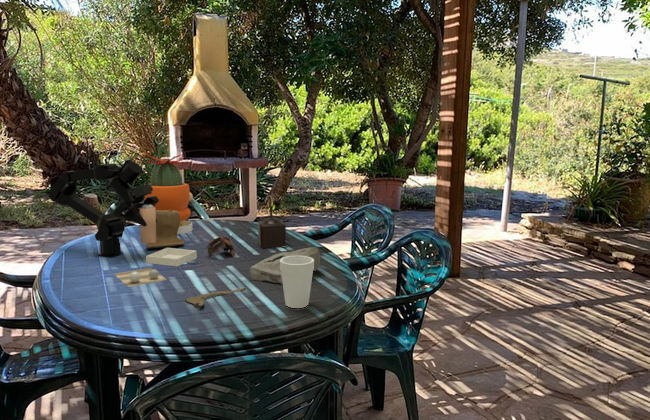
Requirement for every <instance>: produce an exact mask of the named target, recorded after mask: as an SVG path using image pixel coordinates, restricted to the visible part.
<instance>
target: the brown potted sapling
mask: <svg viewBox="0 0 650 420" xmlns="http://www.w3.org/2000/svg"><path fill="white" fill-rule="evenodd" d="M282 203H283V200H281V198H275V199H273V200H272V204H273V205H274V209H273V205H269V206H268V207H269V210H268V212H269V217H268V218H267V219H264V220H262V221H260V220H259V221H257V236H258V237H257V239H258V243H259V244H258V243H257V244H258V246H259V245H260V246H259V247H260V248H261V249H273V248H272V247H282V246H286V245H287V242H286V235H287V232H286V230H287V229H286V228H287V227H286V224H285V223H284V221H283V220H281V219H280V217H278V218H276V217H273V212H274V213H275V212H276V211H277V212H278V211H279V210H281V209H282V208H281V206H282ZM286 247H287V246H286ZM282 248H283V247H282Z"/></svg>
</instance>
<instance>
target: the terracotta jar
mask: <svg viewBox="0 0 650 420" xmlns="http://www.w3.org/2000/svg"><path fill="white" fill-rule="evenodd" d="M138 210H139V214H140V215H141V216H142V218H143V219H144V221H145V222H146V224H147V225H146V226H145V227H144V226H142V225H140V224H139V228H140V229H139V230H140V231H139V232H140V243H142V244H146V243H154V242H156V211H155V207H153V205H148V206H147V205H143V206H142V207H140V208H138Z"/></svg>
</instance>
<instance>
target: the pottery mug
mask: <svg viewBox="0 0 650 420" xmlns="http://www.w3.org/2000/svg"><path fill="white" fill-rule="evenodd" d="M219 248H220V249H222V250H223V251H224V252H229V253H230V254H231V257H232V258H235V255H236V253H235V249H234V246H233V244H232V242H231V241H230V238H229V237H227V236H225V237H223V236H218V237H216V238H214V239H212V240H211V241H210V242H209V243H208V245H207V246H206V249H207V254H208V255H209V256H210V257H211V256H212V254H214V253H216V254H217V253H218V254H219V253H220V252H219V251H220V249H219Z"/></svg>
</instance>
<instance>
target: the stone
mask: <svg viewBox="0 0 650 420" xmlns="http://www.w3.org/2000/svg"><path fill="white" fill-rule="evenodd" d="M287 256H307V257H311V258H313V259H314V270H313V271H315V272H316V270H317V269H318V270H319V267H320V260H321V255H320V251H319V249H318V247H317V246H312V247H305V248H301V249H300V248H299V249H296V250H292V251H283V252H282V251H281V252H278V253H274V254H273V255H271V256H270V257H266V258H264V259H262V260H261V261H259V262H257V263H256V264H254V265H252V266H250V268H249V274H250V279H251V280H252V281H262V282H263V281H267V282H271V283H276V284H278V283H279V284H281V285H283V282H282V274H281V270H280V259H281V258H283V257H287ZM318 270H317V271H318Z"/></svg>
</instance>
